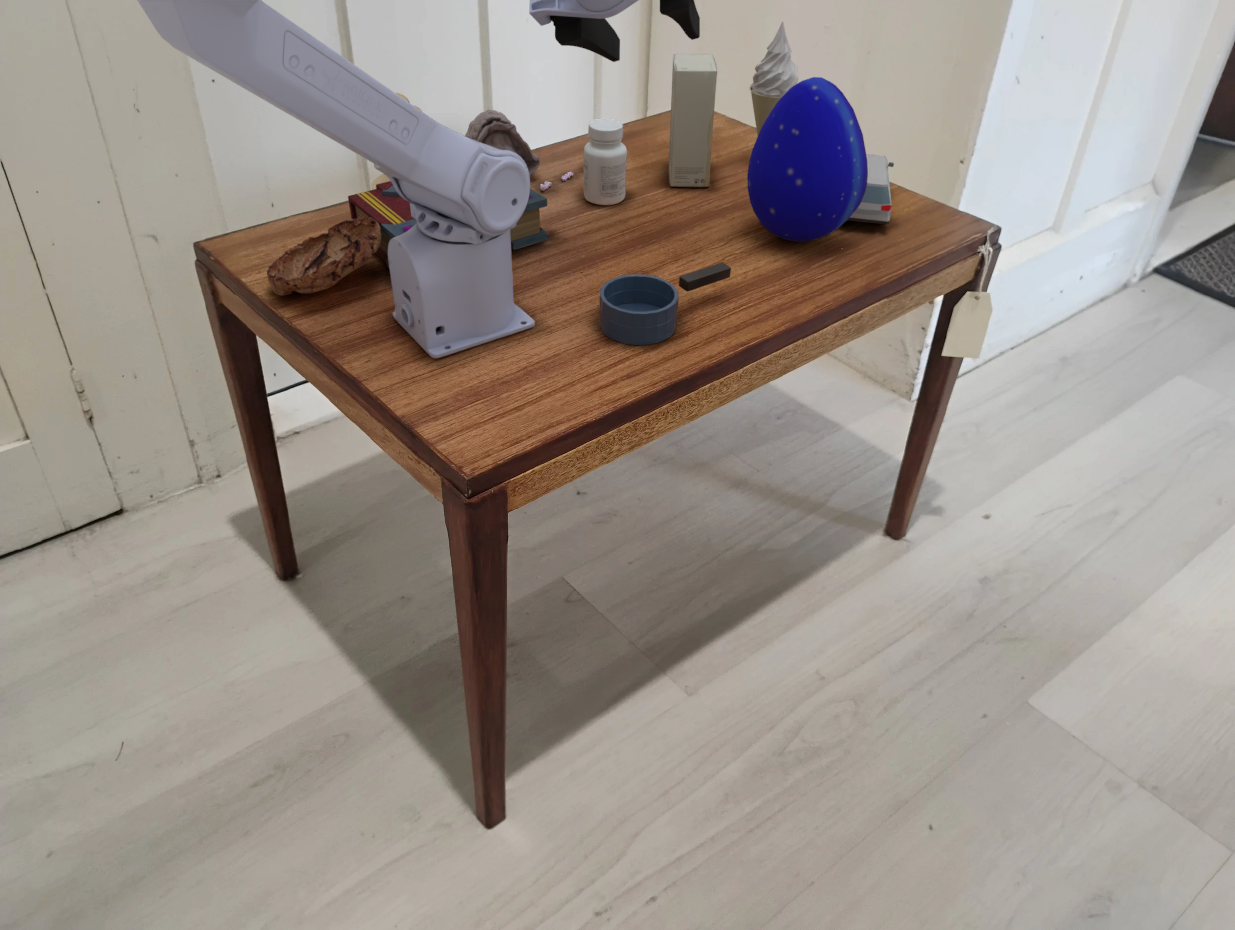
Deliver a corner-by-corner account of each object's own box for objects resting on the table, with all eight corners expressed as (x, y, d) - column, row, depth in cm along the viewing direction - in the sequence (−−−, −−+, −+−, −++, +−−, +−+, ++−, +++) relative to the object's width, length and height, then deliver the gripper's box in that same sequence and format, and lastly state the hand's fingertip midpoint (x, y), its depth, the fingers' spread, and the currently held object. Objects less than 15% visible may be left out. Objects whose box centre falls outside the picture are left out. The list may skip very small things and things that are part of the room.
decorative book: (351, 238, 92) (343, 188, 89) (497, 198, 99) (494, 151, 96) (406, 287, 85) (399, 234, 82) (558, 240, 92) (557, 190, 89)
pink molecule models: (506, 212, 97) (506, 206, 97) (492, 203, 98) (492, 198, 98) (601, 168, 107) (602, 163, 106) (588, 161, 107) (588, 156, 107)
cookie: (373, 204, 87) (389, 234, 89) (266, 254, 87) (284, 283, 88) (376, 233, 79) (394, 265, 80) (258, 288, 78) (278, 319, 80)
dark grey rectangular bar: (686, 292, 82) (687, 281, 81) (678, 286, 82) (679, 275, 82) (730, 277, 84) (731, 267, 83) (721, 272, 85) (722, 261, 84)
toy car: (884, 180, 105) (894, 135, 102) (889, 236, 96) (901, 189, 92) (831, 174, 106) (839, 130, 102) (831, 230, 96) (840, 183, 93)
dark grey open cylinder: (628, 353, 78) (629, 321, 76) (584, 318, 82) (584, 286, 80) (691, 330, 81) (694, 299, 79) (646, 297, 85) (647, 267, 83)
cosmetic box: (709, 189, 103) (719, 71, 95) (667, 187, 103) (674, 70, 95) (705, 165, 108) (715, 52, 100) (666, 164, 108) (672, 51, 100)
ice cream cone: (784, 172, 107) (804, 29, 97) (739, 168, 107) (754, 25, 98) (787, 155, 111) (807, 16, 101) (743, 151, 111) (759, 12, 102)
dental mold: (455, 127, 98) (445, 120, 102) (472, 194, 101) (461, 184, 105) (529, 108, 100) (516, 102, 104) (543, 174, 103) (530, 165, 107)
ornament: (867, 240, 94) (900, 83, 84) (810, 270, 89) (838, 107, 79) (779, 203, 100) (800, 53, 90) (721, 229, 95) (736, 73, 85)
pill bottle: (633, 195, 101) (636, 122, 96) (610, 210, 98) (612, 135, 93) (598, 185, 103) (599, 112, 98) (575, 199, 100) (575, 125, 95)
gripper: (667, -138, 70) (733, -26, 82) (501, -75, 76) (584, 20, 88) (666, -51, 69) (733, 50, 81) (497, 5, 75) (582, 91, 87)
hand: (655, 39), depth 84 cm, fingers open, 7 cm apart
